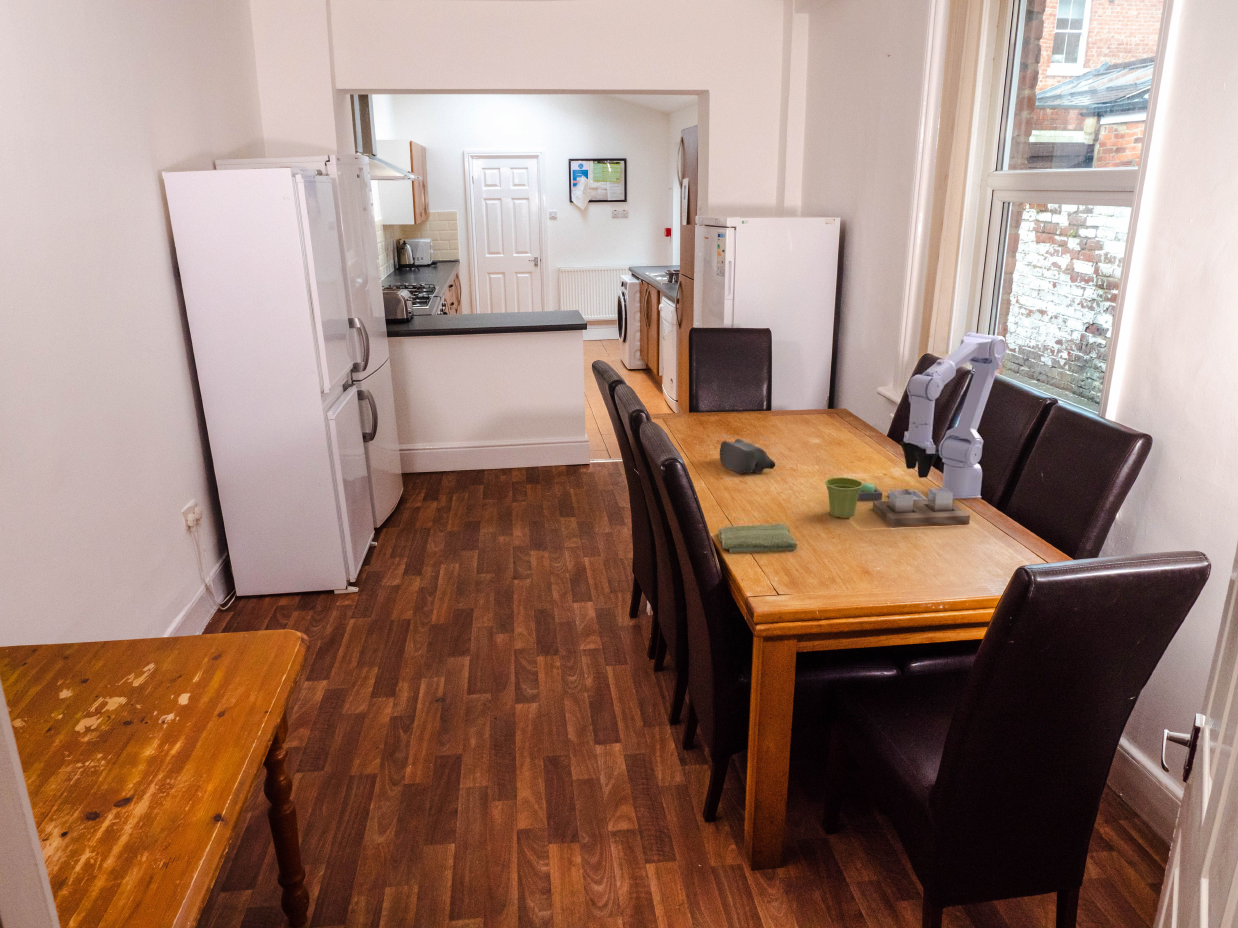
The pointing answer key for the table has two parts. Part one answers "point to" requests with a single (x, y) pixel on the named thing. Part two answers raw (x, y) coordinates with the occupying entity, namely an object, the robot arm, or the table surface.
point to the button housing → (870, 495)
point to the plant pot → (843, 496)
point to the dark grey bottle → (744, 457)
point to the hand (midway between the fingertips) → (916, 472)
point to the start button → (867, 487)
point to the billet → (901, 501)
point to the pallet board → (920, 515)
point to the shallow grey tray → (916, 495)
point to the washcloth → (757, 538)
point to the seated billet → (940, 499)
